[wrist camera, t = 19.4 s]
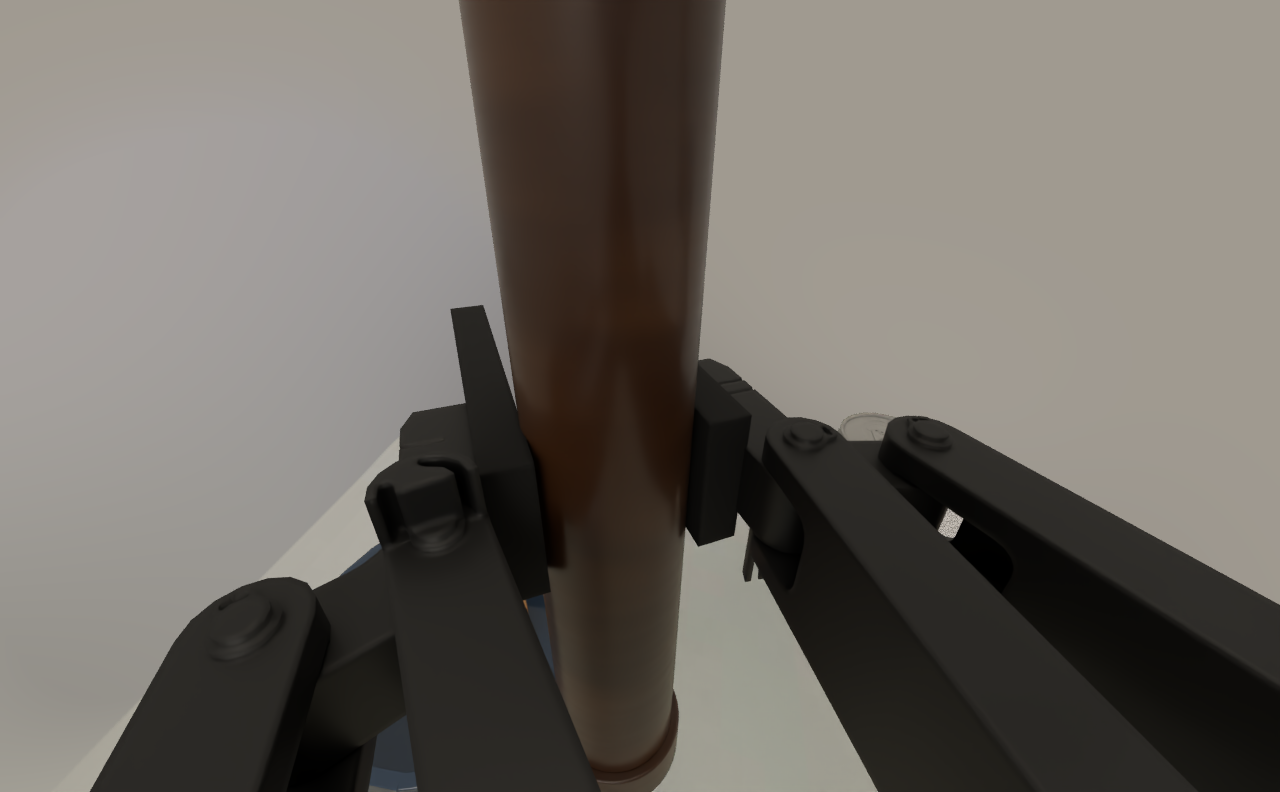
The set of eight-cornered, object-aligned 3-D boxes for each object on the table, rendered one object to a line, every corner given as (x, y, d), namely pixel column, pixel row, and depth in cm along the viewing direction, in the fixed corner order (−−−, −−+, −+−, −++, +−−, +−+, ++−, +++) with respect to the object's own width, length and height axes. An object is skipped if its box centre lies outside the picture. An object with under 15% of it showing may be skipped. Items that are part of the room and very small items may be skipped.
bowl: (578, 539, 36) (574, 481, 33) (658, 761, 24) (661, 701, 21) (347, 602, 32) (319, 541, 29) (301, 918, 19) (245, 866, 17)
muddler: (649, 659, 15) (671, -32, 7) (697, 773, 13) (825, -110, 4) (545, 697, 14) (421, -57, 6) (574, 831, 12) (424, -180, 3)
